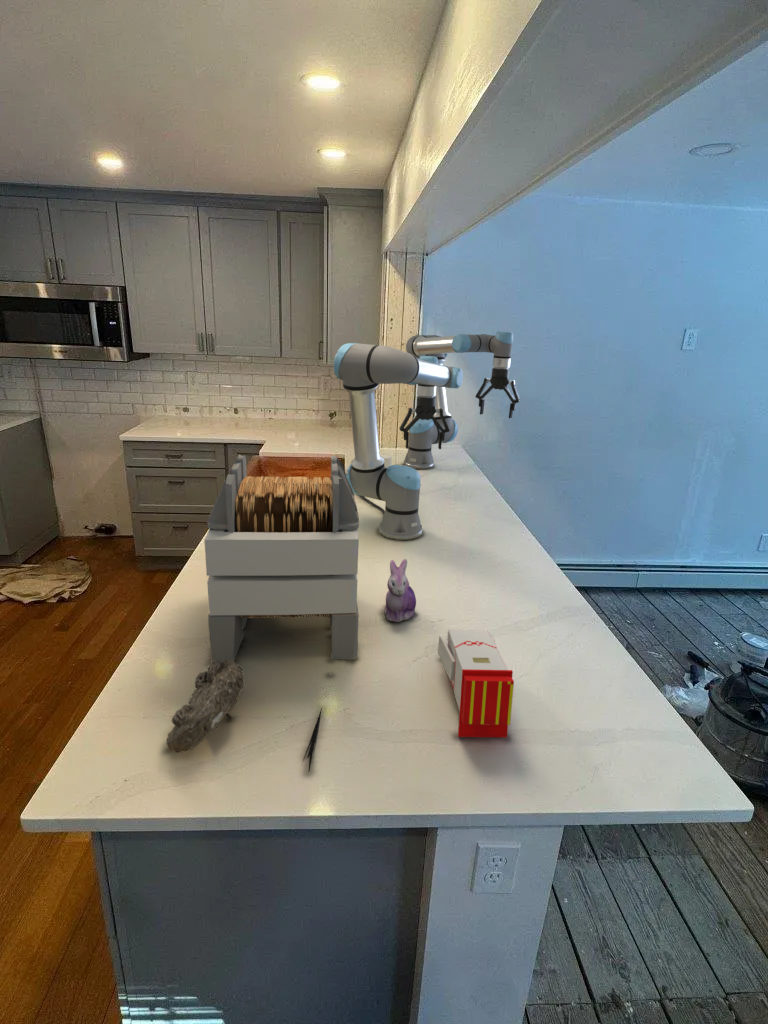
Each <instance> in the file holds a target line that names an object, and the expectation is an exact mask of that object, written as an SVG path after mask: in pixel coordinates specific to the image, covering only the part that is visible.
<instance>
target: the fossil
mask: <svg viewBox="0 0 768 1024" xmlns="http://www.w3.org/2000/svg"><path fill="white" fill-rule="evenodd" d="M243 670H244V669H243V667H242V665H240V664H237V662H236V661H235V659H234V660H232V659H231V660H228V659H227V660H224V661H217V660H212V661H211V660H210V663H209V665H208V666H207V671H201V672H199V673H198V674H197V675H196V676H195V680H194V684H195V685H194V687H195V689H194V690H193V693H192V694H191V697H190V698H189V700H188V704H184V705H182V706H181V707H180V709H177V710H176V711H175V713H174V715H173V716H172V718H171V723H172V724H173V727H172V730H171V731H170V732H168V734H167V738H166V741H167V742H166V745H167V749H168V750H169V751H173V752H174V753H176V754H178V753H182V752H188V751H189V752H192V751H193V750H195V748H196V747H197V746H199V744H200V743H201V742H203V741H204V740H205V739H206V738H207V737H208V736H209V735H210V734H211V733H212V732H214V730H215V729H217V727H218V726H219V724H220V722H221V721H222V720H223V719H224V718H225V716H226V717H227V719H229V720H233V717H232V715H230V714H229V710H230V709H231V708H234V706H235V704H236V703H237V702H238V699H239V697H240V695H241V693H242V691H243V690H245V689H244V688H245V675H244V671H243Z"/></svg>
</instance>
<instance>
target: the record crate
mask: <svg viewBox="0 0 768 1024" xmlns="http://www.w3.org/2000/svg"><path fill="white" fill-rule="evenodd" d="M339 460H340V459H339V458H338V456H337V455H331V456H330V476H324V477H321V476H314V477H312V478H309V477H308V476H286V477H284V476H283V477H282V476H281V477H280V476H263V475H261V476H254V475H253V476H250V475H248V472H247V458H246V455H245V454H244V455H241V454H238V455H237V456H236V459H235V460H234V462H232V463H233V464H232V467H231V468H230V470H229V474H227V475H226V477H225V480H224V482H223V484H222V486H221V488H220V490H219V493H218V496H217V498H216V500H215V502H214V504H213V506H212V508H211V511H210V513H209V515H208V517H207V521H206V522H207V523H206V524H207V528H208V531H207V533H206V535H205V537H204V554H205V556H204V557H205V569H206V570H205V571H206V576H208V579H207V583H206V584H207V597H208V610H209V611H208V615H207V622H208V637H209V638H208V639H209V644H210V657H211V658H210V659H209V660H210V662H211V661H212V660H217V661H222V662H223V661H224V660H227V659H228V660H231V659H232V660H234V661H235V659H236V656H237V654H238V651H239V649H240V646H241V643H242V640H243V638H244V631H243V629H245V628H246V626H247V620H248V619H250V618H251V619H257V618H258V619H261V618H262V619H264V618H265V619H267V618H272V619H273V618H305V617H306V618H312V617H315V618H320V617H321V618H322V617H324V618H325V617H329V620H330V621H329V622H330V623H329V625H330V647H331V648H330V649H331V650H330V651H331V660H351V661H354V660H355V659H356V658H358V653H359V652H358V650H359V607H358V571H359V570H358V567H359V545H360V543H359V540H360V539H359V534H358V533H359V532H358V529H359V527H360V517H359V512H358V506H357V502H356V497H355V496H356V495H355V494H354V493H353V490H352V488H351V486H350V484H349V482H348V480H347V477H346V475H345V474H346V472H345V473H344V471H343V469H342V467H341V464H340V462H339ZM247 475H248V476H247Z"/></svg>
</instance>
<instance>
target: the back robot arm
mask: <svg viewBox="0 0 768 1024" xmlns="http://www.w3.org/2000/svg"><path fill="white" fill-rule="evenodd" d="M513 344H514V333H513V331H504V330H498V331H496V332H495V335H493V334H486V333H479V334H467V333H461V334H456V335H444V336H442V335H436V334H416V335H413V336H411V337H409V339H408V340H407V341H406V344H405V352H407V353H410V354H413V355H414V356H415V357H416V358H417V359H419V358H420V357H421V356H434V357H437V358H438V364H440V365H444V363H445V362H446V358H447V357H448V354H457V353H458V354H461V353H489V354H490V353H491V354H493V359H492V367H493V368H491V377H490V378H489V377H485V378H483V382H482V384H481V386H480V387H479V389H478V391H477V393H476V394H475V398H476V399H478V407H479V415H484V412H485V411H484V409H485V402H486V401H485V399H484V398H486V396H487V395H488V394H489V393H490V392H492V391H493V390H500V391H502V390H503V392H505V394H506V395H507V397H508V399H509V400H510V401H511V402H510V404H509V412H508V419H513V412H514V411H515V410H516V407H517V403H520V402H521V398H520V395H519V392H518V389H517V386H516V380H515V379H513V380H509V379H510V378H509V377H510V369H509V368H510V367H511V361H512V360H511V359H512V351H513ZM489 383H490V384H491V385H490V386H489V387H488V388H487V389H486V390H485V388H486V387H487V385H488V384H489ZM508 385H509V386H510V387H511V390H510V389H509V386H508ZM511 391H512V392H511ZM435 398H436V402H435V409H439V408H442V410H443V416H444V418H445V420H446V423H447V425H448V428H449V430H450V431H449V432H446V433H445V437H444V441H442V444H447V443H451V442H453V441H454V440H455V439H456V437H457V435H458V432H459V427H458V423H457V422H456V420H454V419H453V417H452V414H451V413H450V412H449V408H448V401H447V391H446V387H438V386H436V396H435ZM434 418H435V419H436V420H437V421H438V423H439V424H440V425H441V427H442V428H443V429H445V427H444V424H443V422H442V420H441V417H440V415H439V414H438V413H437V412H436V413H435V414H434ZM408 432H409V443H408V449H407V452H406V455H405V457H404V460H403V465H404V466H408V467H411V468H413V469H415V470H431V469H433V468H434V467H435V462H434V457H433V453H432V446H433V445H438V444H439V432H441V430H440V429H439V428H438V426H437V425H436V424H435V423H434V421H433V420H432V419H430V420H426V419H425V420H421V419H419V420H418V421H417V422H416V423H415V424H414V425H413V426H412V427H411V428H410V429H409V430H408Z"/></svg>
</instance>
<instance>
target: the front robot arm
mask: <svg viewBox="0 0 768 1024" xmlns="http://www.w3.org/2000/svg"><path fill="white" fill-rule="evenodd" d="M333 374H334V375H335V377H336V378H337V379H338V380H340V381H342V387H343V390H344V391H346V392H347V393H348V401H349V410H350V411H349V412H350V422H351V431H352V442H353V451H354V458H353V459H352V460H351V463H350V464H349V465H348V467H347V469H346V470H345V467H344V464H343V462H342V461H341V459H338V460H339V462H340V464H341V467H342V469H343V471H344V473H345V475H346V477H347V480H348V482H349V484H350V486H351V488H352V490H353V493H354V495H357V496H358V497H359V498H361V499H362V500H364V501H365V502H366V503H368V504H369V505H371V506H373V507H375V508H377V509H378V510H379V511H381V513H382V514H383V515H382V519H381V522H379V525H378V533H379V534H380V535H381V536H382V537H385V538H387V539H389V540H395V541H410V540H415V539H418V538H420V537H421V536H422V535H423V525H422V524H421V518H420V515H419V507H420V506H419V505H420V496H421V495H420V494H421V493H420V492H421V486H422V485H421V474H420V472H419V471H418V470H417V469H413V468H411V467H408V466H404V464H401V465H400V464H391V466H389V467H388V468H385V465H384V459H383V458H382V457H381V456H380V455H381V454H380V445H379V431H378V430H379V429H378V420H377V418H378V417H377V404H376V392H375V391H376V389H377V388H378V387H379V385H380V384H381V385H392V384H393V385H394V384H395V385H396V384H403V385H408V386H415V385H417V388H416V389H417V391H416V406H415V408H412V407H408V409H407V413H406V415H405V417H404V419H403V421H402V423H401V425H400V426H399V431H400V432H403V440H404V441H405V449H406V450H408V446H409V429H410V428H411V427H412V426H413V425H414V424H415V423H416V422H417V421H418V420H419V419H421V420H425V419H426V420H430V419H432V420H433V421H434V423H435V424H436V425H437V426H438V428H439V429H440V430H441V432H439V443H438V444H437V448H438V450H442V444H443V443H442V441H444V437H445V433H446V432H449V431H450V430H449V428H448V425H447V423H446V420H445V418H444V416H443V410H442V408H439V409H435V402H436V398H435V396H436V386H438V387H445V389H446V388H447V389H459V388H460V387H461V386H462V384H463V381H464V371H463V369H462V368H460V367H457V366H448V365H445V364H443V365H440V364H438V358H437V357H434V356H421V357H420V358H419V359H417V358H416V357H415V356H414V355H413V354H410V353H407V351H403V350H401V349H398V348H395V347H392V346H389V345H381V344H380V345H379V344H369V343H368V344H367V343H359V342H351V343H349V342H347V343H345V344H342V345H341V346H340V347H339V348H338V350H337V351H336V354H335V356H334V359H333ZM436 412H437V413H438V414H439V415H440V417H441V420H442V422H443V424H444V427H445V429H443V428H442V427H441V425H440V424H439V423H438V421H437V420H436V419H435V418H434V414H435V413H436ZM414 413H415V414H416V415H415V416H414V418H413V419H412V420H411V421H409V420H410V418H411V416H412V415H413V414H414ZM408 422H409V423H408ZM346 472H347V473H346ZM368 498H369V499H373V500H377V501H381V502H385V504H384V505H385V507H384V508H385V509H383V507H381V506H380V505H378V504H376V503H374V502H373V501H371V500H369V499H368Z"/></svg>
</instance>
